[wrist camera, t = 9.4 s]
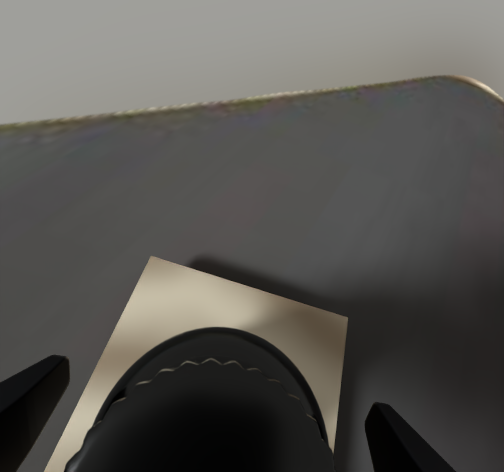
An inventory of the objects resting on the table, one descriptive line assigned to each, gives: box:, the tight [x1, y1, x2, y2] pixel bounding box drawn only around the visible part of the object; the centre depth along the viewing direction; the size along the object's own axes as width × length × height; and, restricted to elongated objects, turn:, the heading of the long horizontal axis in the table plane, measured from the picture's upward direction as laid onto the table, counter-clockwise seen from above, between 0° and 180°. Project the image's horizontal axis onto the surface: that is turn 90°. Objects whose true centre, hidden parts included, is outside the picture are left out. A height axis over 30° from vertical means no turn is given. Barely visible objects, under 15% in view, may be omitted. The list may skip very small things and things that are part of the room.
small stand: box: [44, 256, 348, 472], centre depth 16 cm, size 14×14×4 cm
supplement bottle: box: [64, 327, 337, 472], centre depth 9 cm, size 7×7×12 cm
